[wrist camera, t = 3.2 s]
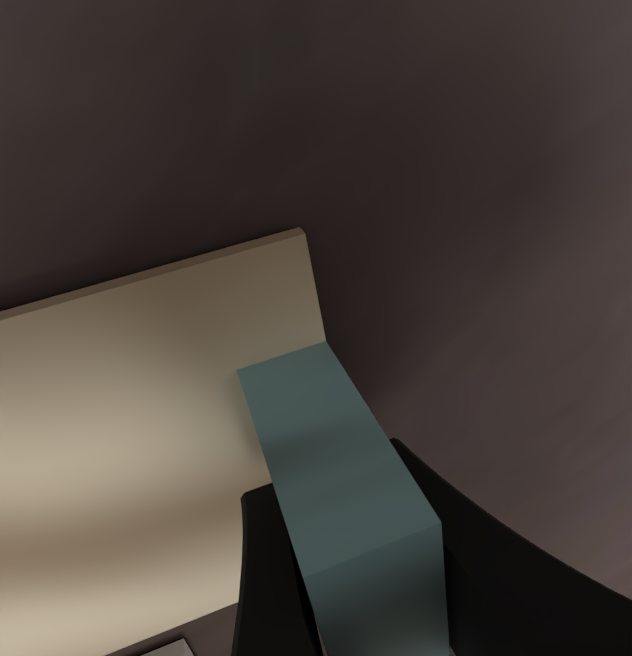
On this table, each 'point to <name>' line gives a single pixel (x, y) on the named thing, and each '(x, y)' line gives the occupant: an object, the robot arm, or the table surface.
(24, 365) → the wooden board
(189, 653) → the broken strip
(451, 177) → the table surface
